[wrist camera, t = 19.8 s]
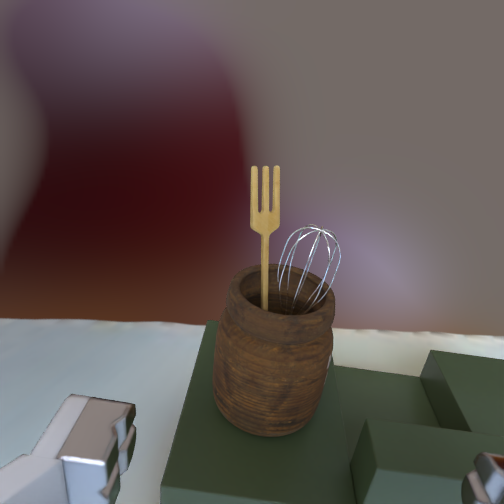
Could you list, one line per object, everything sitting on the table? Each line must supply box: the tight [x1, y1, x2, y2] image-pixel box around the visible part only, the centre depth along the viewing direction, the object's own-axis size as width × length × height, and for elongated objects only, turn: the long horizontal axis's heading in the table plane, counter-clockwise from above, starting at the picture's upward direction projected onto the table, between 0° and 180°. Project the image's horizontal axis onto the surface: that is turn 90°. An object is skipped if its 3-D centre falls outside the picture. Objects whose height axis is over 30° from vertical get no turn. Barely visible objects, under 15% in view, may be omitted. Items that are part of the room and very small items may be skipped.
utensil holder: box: [212, 166, 341, 437], centre depth 19 cm, size 6×6×12 cm
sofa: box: [160, 320, 504, 504], centre depth 23 cm, size 24×12×10 cm, turn 86°
